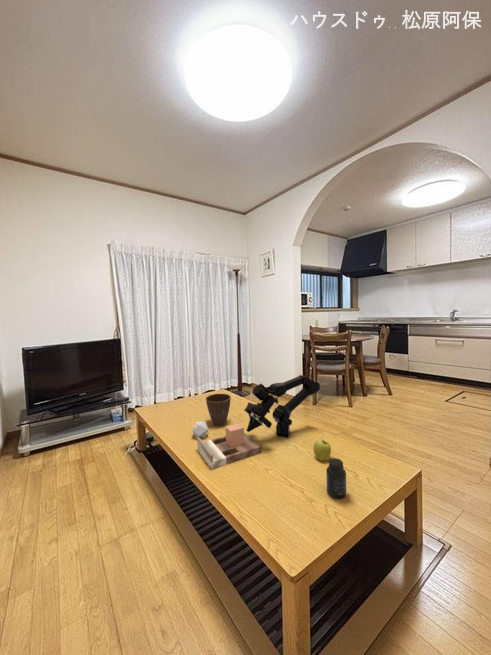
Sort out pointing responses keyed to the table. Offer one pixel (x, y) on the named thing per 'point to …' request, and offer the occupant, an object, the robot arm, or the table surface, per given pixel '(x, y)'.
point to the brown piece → (226, 451)
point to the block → (234, 435)
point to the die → (200, 429)
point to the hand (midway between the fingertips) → (247, 431)
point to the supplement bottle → (336, 479)
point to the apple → (322, 449)
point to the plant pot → (218, 408)
